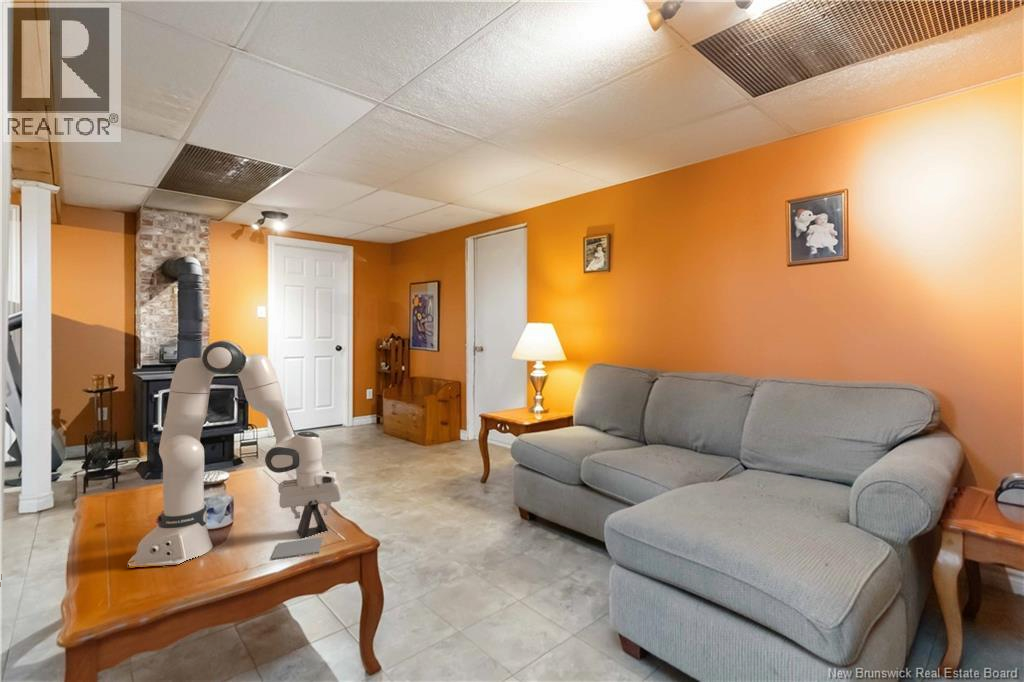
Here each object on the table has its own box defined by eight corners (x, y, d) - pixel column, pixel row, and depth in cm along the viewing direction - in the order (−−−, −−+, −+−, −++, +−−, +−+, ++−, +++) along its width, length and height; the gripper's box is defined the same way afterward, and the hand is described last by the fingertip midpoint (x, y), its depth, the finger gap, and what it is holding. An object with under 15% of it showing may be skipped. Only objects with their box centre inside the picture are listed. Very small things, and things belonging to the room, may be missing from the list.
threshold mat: (271, 560, 153) (271, 558, 153) (278, 544, 164) (277, 543, 164) (319, 553, 157) (318, 551, 157) (322, 538, 168) (322, 537, 168)
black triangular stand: (301, 538, 168) (300, 504, 168) (296, 533, 173) (295, 499, 172) (328, 531, 174) (326, 498, 173) (322, 526, 179) (321, 493, 178)
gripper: (276, 484, 167) (278, 523, 167) (339, 477, 172) (341, 515, 173) (279, 478, 173) (281, 516, 174) (340, 472, 178) (342, 509, 179)
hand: (311, 516), depth 173 cm, fingers open, 8 cm apart
